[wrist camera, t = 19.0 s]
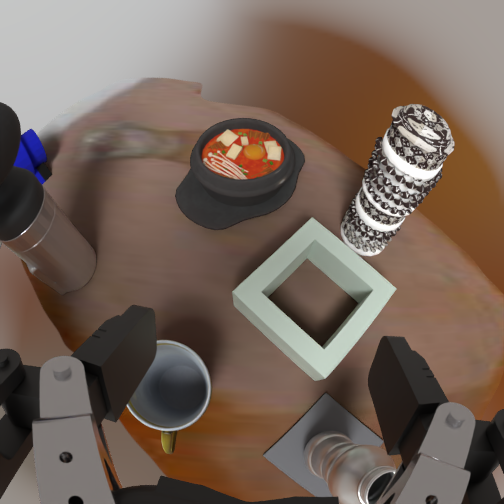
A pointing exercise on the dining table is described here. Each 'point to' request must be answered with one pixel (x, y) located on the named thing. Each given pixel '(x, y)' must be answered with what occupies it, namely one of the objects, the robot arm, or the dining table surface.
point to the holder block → (336, 268)
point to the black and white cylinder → (397, 177)
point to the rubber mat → (312, 423)
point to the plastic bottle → (349, 467)
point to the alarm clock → (32, 156)
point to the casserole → (238, 173)
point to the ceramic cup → (172, 391)
